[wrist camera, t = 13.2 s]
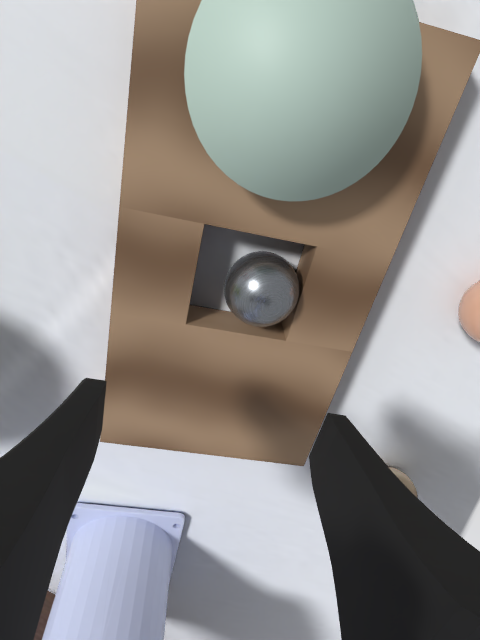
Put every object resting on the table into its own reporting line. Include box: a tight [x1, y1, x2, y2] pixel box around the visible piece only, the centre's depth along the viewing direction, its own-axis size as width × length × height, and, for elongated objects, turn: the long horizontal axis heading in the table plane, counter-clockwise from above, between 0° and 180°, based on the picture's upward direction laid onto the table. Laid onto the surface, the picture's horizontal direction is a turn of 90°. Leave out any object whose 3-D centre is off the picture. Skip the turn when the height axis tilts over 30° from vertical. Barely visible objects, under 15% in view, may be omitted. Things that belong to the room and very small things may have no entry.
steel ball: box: [224, 251, 299, 327], centre depth 20 cm, size 4×4×4 cm
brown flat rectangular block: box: [100, 0, 480, 466], centre depth 20 cm, size 22×12×2 cm, turn 167°
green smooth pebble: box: [184, 0, 422, 201], centre depth 14 cm, size 8×8×2 cm
